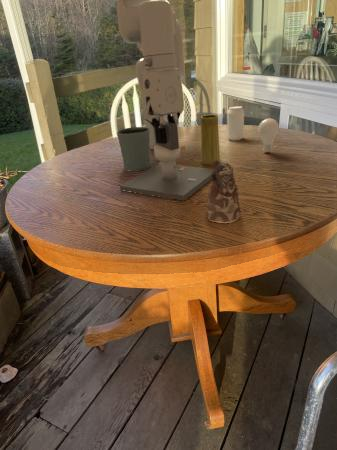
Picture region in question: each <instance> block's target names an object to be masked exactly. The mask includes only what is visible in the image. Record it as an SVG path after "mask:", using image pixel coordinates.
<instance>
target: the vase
mask: <svg viewBox="0 0 337 450" xmlns="http://www.w3.org/2000/svg"><path fill="white" fill-rule="evenodd" d="M200 134H201V135H200V137H201V138H200V140H201V141H200V143H201V160H200V163H201V164H203V165H205V166H206V165H207V166H208V165H209V166H210V165H211V166H213V161H215V160H217V161H218V163H219V164H220V163H221V157H220V137H219V115H217V114H204V115H201V116H200Z"/></svg>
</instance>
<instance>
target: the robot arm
mask: <svg viewBox="0 0 337 450" xmlns="http://www.w3.org/2000/svg"><path fill="white" fill-rule="evenodd" d="M116 14H117V15H116V16H117V24H118V31H119V34H120V36H121V38H122V40H123V41H124V42H125V43H127V44H136V46H137V49H139V51H141V52H142V57H141V58H139V59H138V60H137V61H136V64H135V73H136V79H137V82H138V86H139V89H140V97H141V103H142V111H143V117H142V118H143V120H144V127H146V128H149V135H150V143H149V146H150V150H154V146H156V145H157V144H156V143H155V134H156V142H157V143H160V144H166V133H165V128H163V121H166V122H170V123H174V124H177V125H178V124H179V118H180V116H181V115H182V113H183V112H184V111H185V101H184V89H183V84H182V83H183V81H184V79H185V72H186V70H185V68H186V67H185V58H184V57H185V55H184V53H185V52H184V42H183V33H182V32H183V31H182V30H183V29H182V27H181V23H180V21H179V20H178V19H177V15H176V12H175V11H174V9H173V8H172V6H171V3H170V2H169V1H168V0H116ZM154 128H155V134H154Z"/></svg>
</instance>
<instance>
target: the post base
mask: <svg viewBox="0 0 337 450" xmlns="http://www.w3.org/2000/svg"><path fill="white" fill-rule="evenodd" d="M176 160H177V159H175V160H171V161H159V163H157V165H154V166H153V167H150V168H148V169H146V171H145V170H144V172H142V173H140V174H138V175H136V176H135V177H133V178H131V179H130V180H128V181H126V182H124V183H122V184H120V185H119V191H120V190H125V191H131V192H136V193H142V194H147V195H146V196H148V195H154V196H160V197H159V198H161V197H165V198H164V199H167V198H171V199H170V200H173V199H177V200H176V201H179V200H183V201H182V202H185V201H186V200H187V199H189V198H190V197H191V196H192V195H194V194H195V193H196V192H197V191H199V190H200V189H201V188H203V187H204V186H205V185H206V184H207V183H209V182H210V181H212V177H211V174H212V172H213V171H214V168H206V167H197V166H187V165H180V164H179V163H177V161H176ZM198 189H199V190H198ZM194 192H195V193H194ZM136 193H135V194H136ZM193 193H194V194H193ZM142 194H141V195H142ZM154 196H153V197H154ZM189 196H190V197H189ZM188 197H189V198H188ZM185 199H186V200H185ZM184 200H185V201H184Z"/></svg>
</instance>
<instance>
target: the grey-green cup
mask: <svg viewBox="0 0 337 450" xmlns="http://www.w3.org/2000/svg"><path fill="white" fill-rule="evenodd" d="M116 136H117V139H118V143H119V147H120V153H121V157H122V161H123V168H124V170H125V169H126V170H125V171H127V170H130V171H129V172H138V171H137V170H142V171H145V170H148V169H150V168H151V156H150V154H151V149H150V146H149V143H150V135H149V128H146V127H145V126H134V127H127V128H126V127H125V128H122V129H120V130H117V132H116ZM147 168H148V169H147ZM144 169H145V170H144Z"/></svg>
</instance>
